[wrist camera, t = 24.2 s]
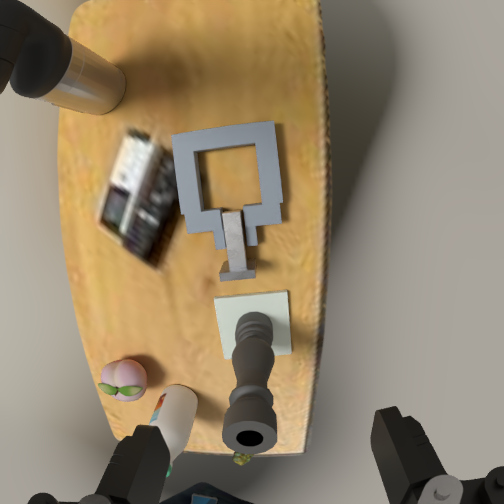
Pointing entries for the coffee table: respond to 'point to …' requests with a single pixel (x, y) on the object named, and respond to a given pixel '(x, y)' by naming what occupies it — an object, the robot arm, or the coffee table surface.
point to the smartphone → (203, 499)
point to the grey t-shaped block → (236, 250)
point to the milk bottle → (175, 418)
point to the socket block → (191, 183)
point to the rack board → (263, 302)
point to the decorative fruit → (124, 380)
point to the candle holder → (251, 388)
